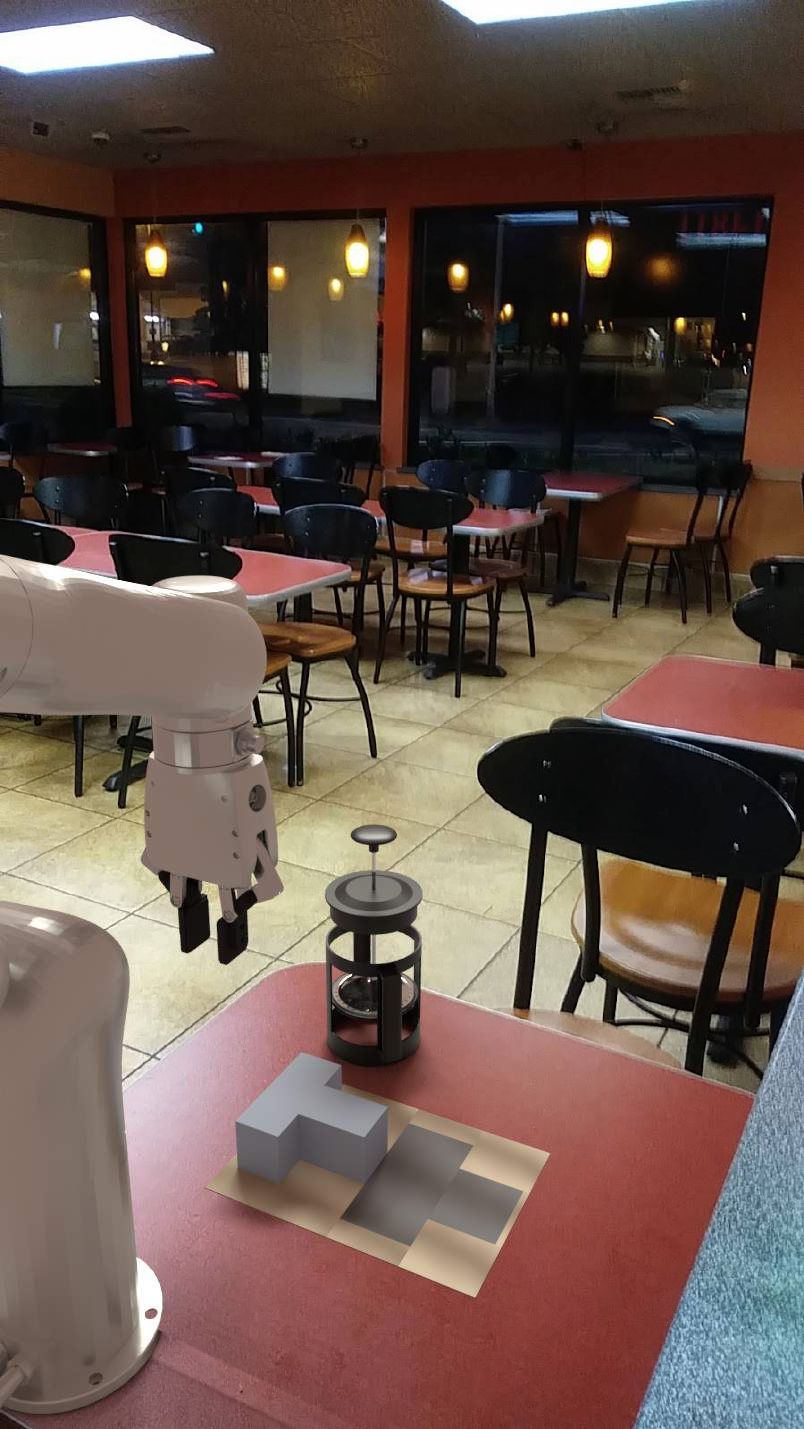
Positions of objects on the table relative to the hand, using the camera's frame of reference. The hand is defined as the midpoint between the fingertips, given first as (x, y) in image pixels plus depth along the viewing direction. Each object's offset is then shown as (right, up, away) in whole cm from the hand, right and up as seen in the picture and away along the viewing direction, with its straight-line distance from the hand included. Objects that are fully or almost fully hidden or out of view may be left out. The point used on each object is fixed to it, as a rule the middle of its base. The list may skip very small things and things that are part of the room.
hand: (214, 949), depth 88 cm
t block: (+9, -17, +1) cm, 19 cm away
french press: (+13, -13, +15) cm, 24 cm away
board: (+14, -19, -1) cm, 23 cm away
